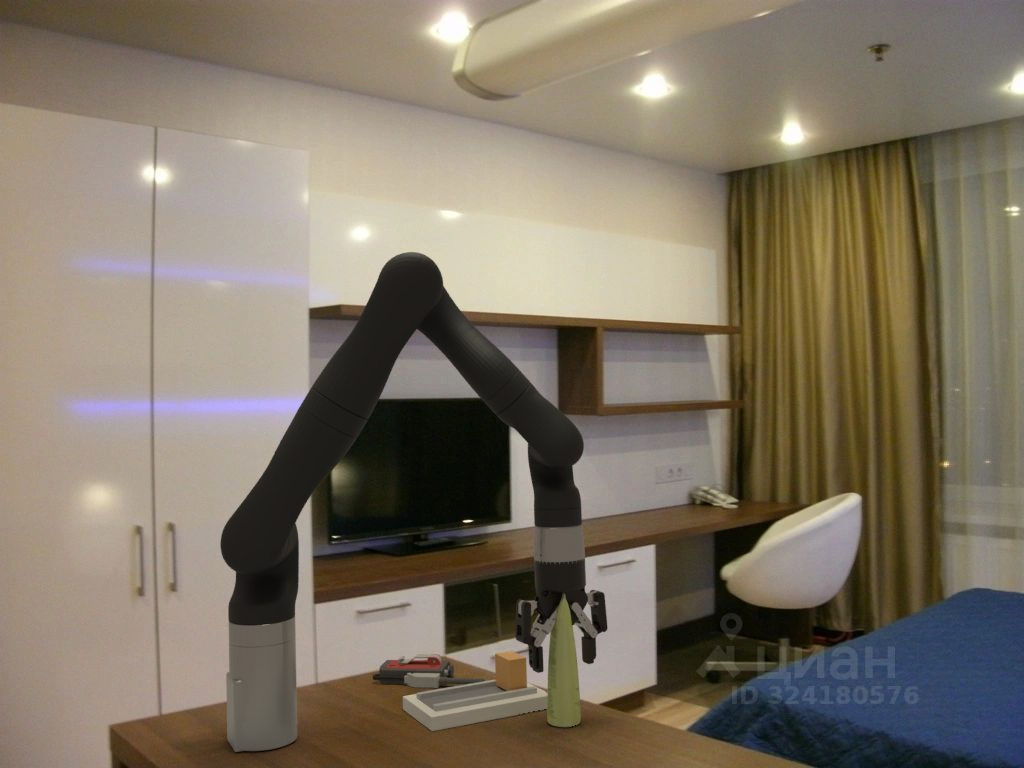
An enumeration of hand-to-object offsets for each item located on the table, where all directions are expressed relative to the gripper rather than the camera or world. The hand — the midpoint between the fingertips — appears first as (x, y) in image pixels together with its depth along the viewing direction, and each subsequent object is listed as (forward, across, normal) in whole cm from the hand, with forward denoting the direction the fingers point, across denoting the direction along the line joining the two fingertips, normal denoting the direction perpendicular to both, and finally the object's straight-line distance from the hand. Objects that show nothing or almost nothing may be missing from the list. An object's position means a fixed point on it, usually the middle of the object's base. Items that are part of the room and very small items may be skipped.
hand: (563, 667), depth 135 cm
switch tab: (+6, -2, +13) cm, 14 cm away
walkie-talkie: (+9, -8, +31) cm, 34 cm away
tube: (+8, 0, 0) cm, 8 cm away
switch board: (+8, -8, +13) cm, 17 cm away
